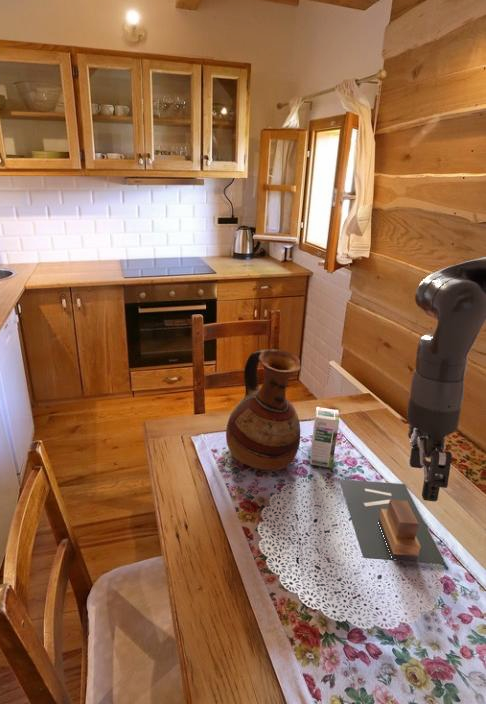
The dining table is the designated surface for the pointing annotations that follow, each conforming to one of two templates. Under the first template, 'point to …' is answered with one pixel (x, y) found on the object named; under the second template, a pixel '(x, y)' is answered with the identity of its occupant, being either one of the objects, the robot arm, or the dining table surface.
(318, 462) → the syrup box
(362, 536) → the slate board
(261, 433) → the ceramic pitcher
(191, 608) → the dining table surface
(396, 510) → the eraser
